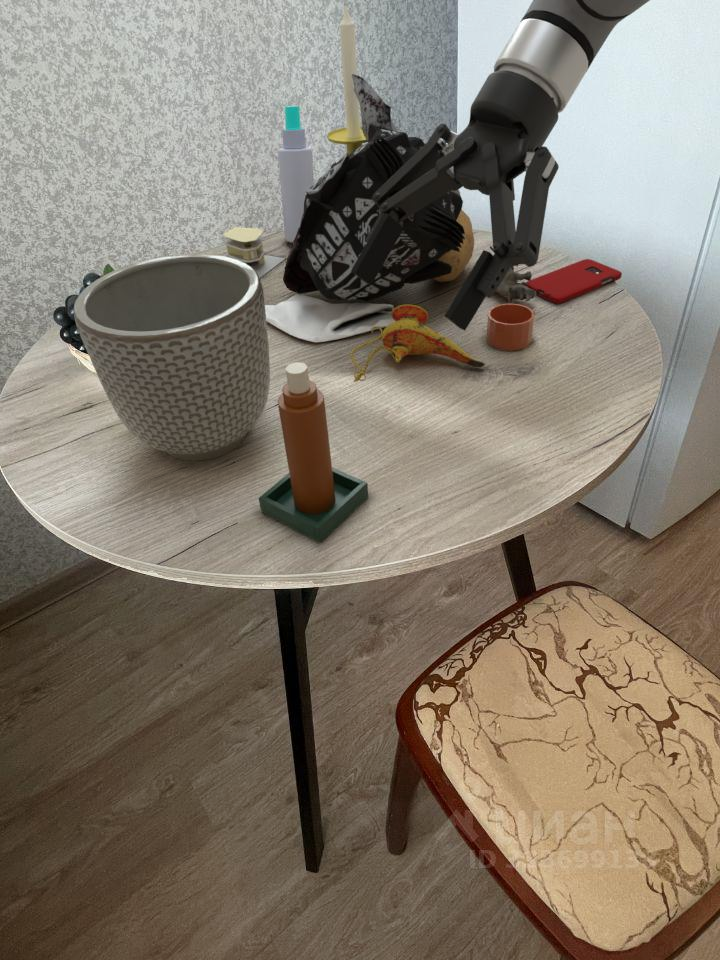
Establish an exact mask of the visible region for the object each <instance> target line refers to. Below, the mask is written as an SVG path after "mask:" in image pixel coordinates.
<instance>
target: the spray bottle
mask: <svg viewBox="0 0 720 960" xmlns="http://www.w3.org/2000/svg"><path fill="white" fill-rule="evenodd" d="M284 117H285V118H284V120H285V129H282V147H281V148H279V149H278V150H277V159H278V171H279V182H280V194H281V195H280V196H281V207H282V217H283V218H282V219H283V230H284V239H285V241H287V243H292V244H293V241H294V239H295V237H296V234H297V231H298V228H299V227H300V224H301V219H302V215H303V213H304V201H305V196H306V194H307V193H306V191H307V190H308V189H309V188H310V187H311V186H312V185H313V184H314V183H315V173H314V156H313V148H312V147H309V146H307V140H306V131H305V128H302V125H301V124H302V123H301V112H300V105H290V106H287V105H286V106H284Z"/></svg>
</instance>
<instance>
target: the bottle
mask: <svg viewBox="0 0 720 960" xmlns="http://www.w3.org/2000/svg"><path fill="white" fill-rule="evenodd" d="M285 375H286V380H287V383H285V384H284V385H283V386H282V389H281V390H282V393H281V394H280V395H279V396H278V398H277V407H278V412H279V419H280V425H281V431H282V436H283V443H284V450H285V455H286V462H287V467H288V473H289V474H290V480H291V486H292V492H293V498H294V504H295V506H296V508H297V509H298V510H299V511H301V512H303V513H306V514H320V513H323V512H325V511H327V510H329V509H330V508H331V507H332V506H333V505H334V503H335V490H334V482H333V473H332V467H333V466H332V465H333V464H332V456H331V446H330V438H329V430H328V419H327V412H326V411H327V410H326V404H325V403H326V402H325V394H324V393H323V392H322V390H320V389H318V387H317V384H316V383H315V382H314V381H312V380H310V377H309V369H308V365H307V364H306V363H304V362H299V361H298V362H297V361H296V362H291V363H290V364H287V366H286V367H285Z"/></svg>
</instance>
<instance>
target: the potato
mask: <svg viewBox="0 0 720 960" xmlns="http://www.w3.org/2000/svg"><path fill="white" fill-rule="evenodd" d="M456 221H457V222H458V223H459V224H461V225H462V226H463V228H464V232H465V234H463V236H464V238H465V239H463V243H464V244H462V243H460V244H461V247H462V248H461V247H458V248H459V250H460V252H458V251H454V250H450V251H449V252H447V253H445V254H444V255H443V256H442V257H441V258H439V259H438V260H439V261H442V262H445V263H448V264H450V265H451V266H452V270H451V273H450V274H446V275H443V276H440V277H436V278H432V279H431V280H433V281H437V282H442V283H444V282H451V281H454V280H456V279H457V278H458V277H459V276H460V275H461V273H462V272H463V271H464V270H465V268H466V267H467V266H468V264H469V262H470V260H471V259H472V257H473V253H474V247H475V236H474V232H473V231H474V230H473V224H472V221H471V218H470V216H469V215H468V214H467V213H466V212H465V211H464V210H463V209H461V211H460V214H459V216H458V218H457V220H456Z"/></svg>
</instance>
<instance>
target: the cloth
mask: <svg viewBox="0 0 720 960" xmlns="http://www.w3.org/2000/svg"><path fill="white" fill-rule="evenodd" d="M394 308H395V307H394V305H393V304H388V303H372V302H366V301H356V302H353V303H348V302H342V303H340V302H339V303H331V302H327V301H325V300H323V299H320V298H316V297H313V296H309V295H306V294H301V293H295V294H293V295H292V296H291V297H289V298H287V299H286V300H285V301H281V302H279V303H277V304H275V305H272V304H271V305H270V304H265V312H266V322H267V323H269V324H270V325H272V326H274V327H275V328H277V329H279V330H281V331H283V332H284V333H286V334H288V335H290V336H293V337H295V338H296V339H300V340H304V341H308V342H312V343H323V342H324V343H325V342H330V341H334V340H339V339H341V340H342V339H344V338H349V337H352V336H356V335H361V334H365V333H368V332H372V328H374V327H379V328H381V329H383V328H386V327H387V326H388V325H389V324H391V323H393V322H395V320H394V319H393V318H392V315H391V313H392V311H393V309H394ZM375 330H379V329H378V328H374V329H373V331H375Z"/></svg>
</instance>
